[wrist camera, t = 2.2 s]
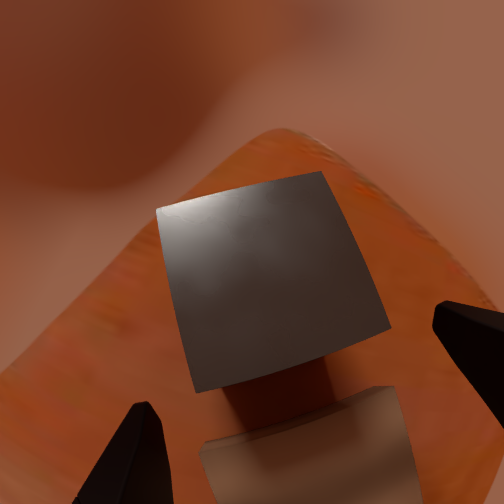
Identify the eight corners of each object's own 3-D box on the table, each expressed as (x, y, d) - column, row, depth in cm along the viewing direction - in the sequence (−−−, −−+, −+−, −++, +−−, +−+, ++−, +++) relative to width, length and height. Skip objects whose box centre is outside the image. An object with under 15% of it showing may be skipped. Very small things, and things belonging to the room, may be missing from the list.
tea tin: (323, 354, 18) (391, 328, 9) (220, 386, 17) (195, 393, 8) (290, 261, 20) (321, 171, 12) (194, 287, 19) (155, 209, 11)
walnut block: (406, 510, 13) (426, 523, 10) (257, 566, 11) (259, 588, 8) (373, 386, 17) (393, 386, 14) (205, 441, 15) (198, 452, 13)
